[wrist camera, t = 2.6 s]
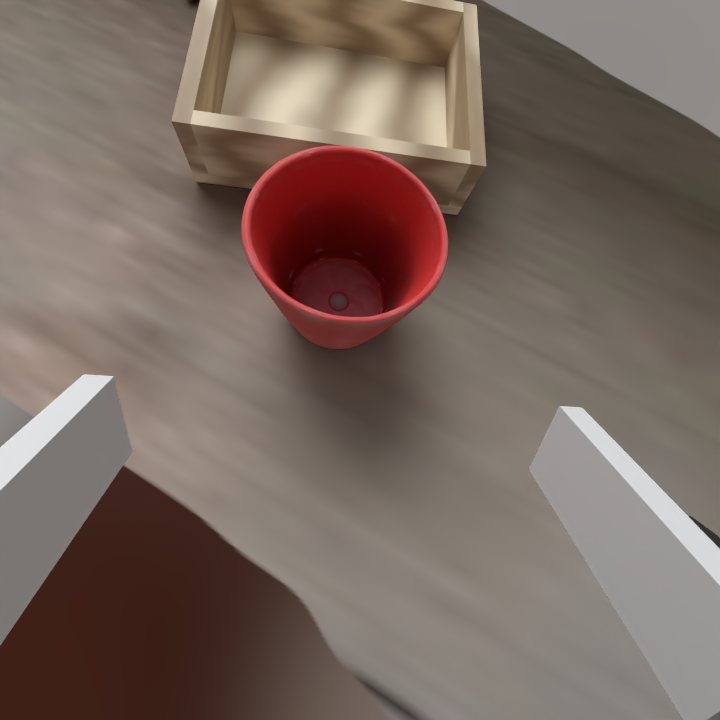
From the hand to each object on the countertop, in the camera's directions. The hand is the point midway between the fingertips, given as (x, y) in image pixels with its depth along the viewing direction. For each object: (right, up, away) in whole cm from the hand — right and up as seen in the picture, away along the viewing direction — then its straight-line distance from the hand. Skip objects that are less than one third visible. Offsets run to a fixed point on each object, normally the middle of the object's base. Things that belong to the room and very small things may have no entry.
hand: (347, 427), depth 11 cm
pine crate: (-2, +24, +22) cm, 32 cm away
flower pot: (-1, +6, +17) cm, 18 cm away
